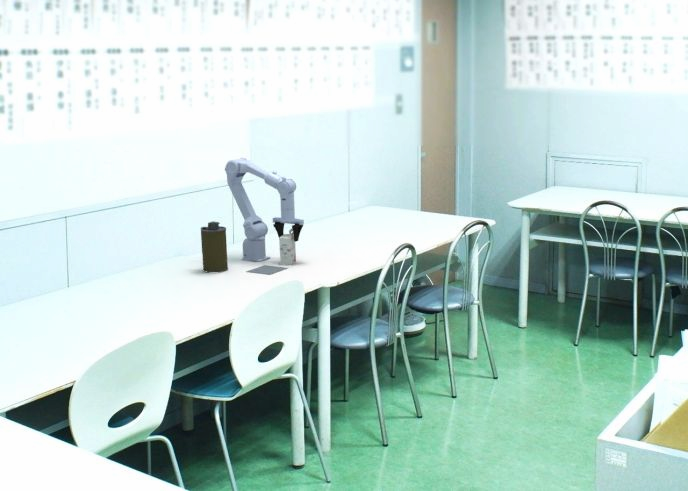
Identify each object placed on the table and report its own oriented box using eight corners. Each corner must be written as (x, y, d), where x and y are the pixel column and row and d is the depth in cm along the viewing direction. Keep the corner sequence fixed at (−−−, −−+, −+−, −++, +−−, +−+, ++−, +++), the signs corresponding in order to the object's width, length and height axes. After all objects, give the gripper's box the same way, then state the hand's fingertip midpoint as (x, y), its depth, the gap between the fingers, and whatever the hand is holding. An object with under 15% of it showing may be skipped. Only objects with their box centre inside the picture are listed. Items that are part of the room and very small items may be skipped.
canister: (233, 268, 409) (230, 220, 405) (218, 273, 400) (216, 225, 396) (211, 266, 414) (209, 219, 410) (196, 271, 406) (194, 223, 401)
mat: (246, 272, 402) (246, 271, 402) (264, 266, 413) (264, 265, 413) (270, 275, 396) (270, 274, 396) (288, 269, 407) (288, 267, 407)
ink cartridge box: (285, 260, 422) (283, 226, 419) (296, 260, 421) (295, 226, 418) (279, 264, 414) (278, 230, 411) (291, 265, 413) (290, 230, 410)
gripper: (267, 208, 414) (269, 240, 417) (296, 211, 406) (297, 243, 409) (277, 206, 420) (278, 237, 422) (306, 208, 412) (307, 240, 415)
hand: (288, 240), depth 416 cm, fingers open, 7 cm apart
